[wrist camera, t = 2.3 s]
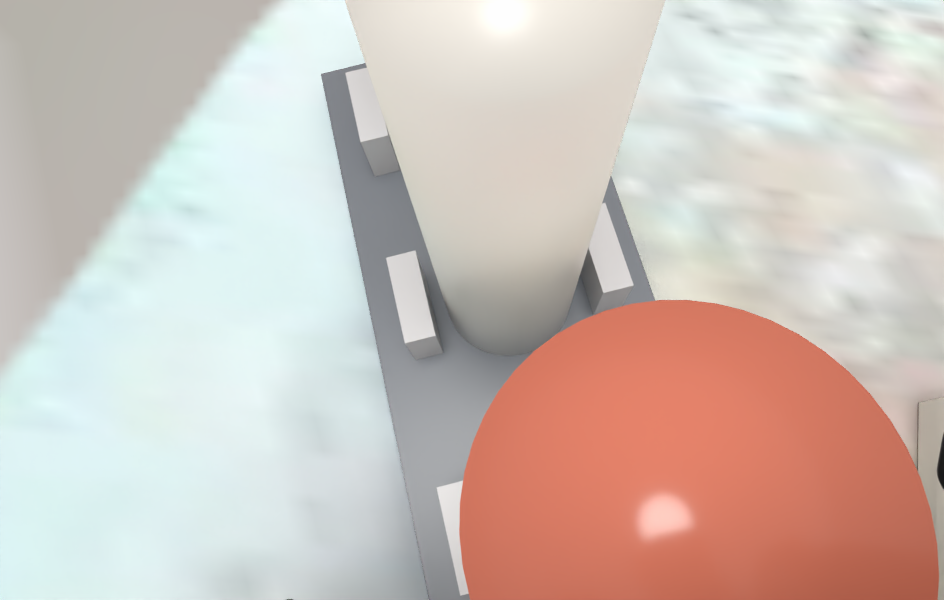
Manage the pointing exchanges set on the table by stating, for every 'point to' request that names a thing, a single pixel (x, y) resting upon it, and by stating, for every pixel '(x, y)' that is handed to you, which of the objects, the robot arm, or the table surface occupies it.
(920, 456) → the tray
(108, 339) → the table surface
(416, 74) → the fuse panel
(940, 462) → the robot arm
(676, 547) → the white cylinder orange top
